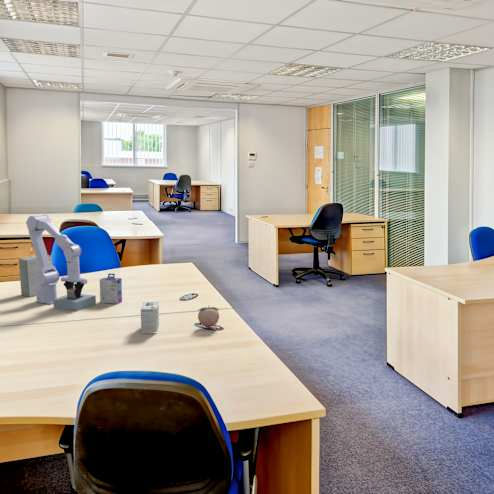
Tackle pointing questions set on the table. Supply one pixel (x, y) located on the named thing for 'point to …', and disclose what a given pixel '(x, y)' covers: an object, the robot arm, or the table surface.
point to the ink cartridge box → (111, 289)
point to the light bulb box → (149, 317)
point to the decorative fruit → (208, 316)
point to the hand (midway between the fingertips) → (74, 296)
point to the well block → (74, 302)
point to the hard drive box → (29, 275)
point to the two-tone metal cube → (72, 294)
